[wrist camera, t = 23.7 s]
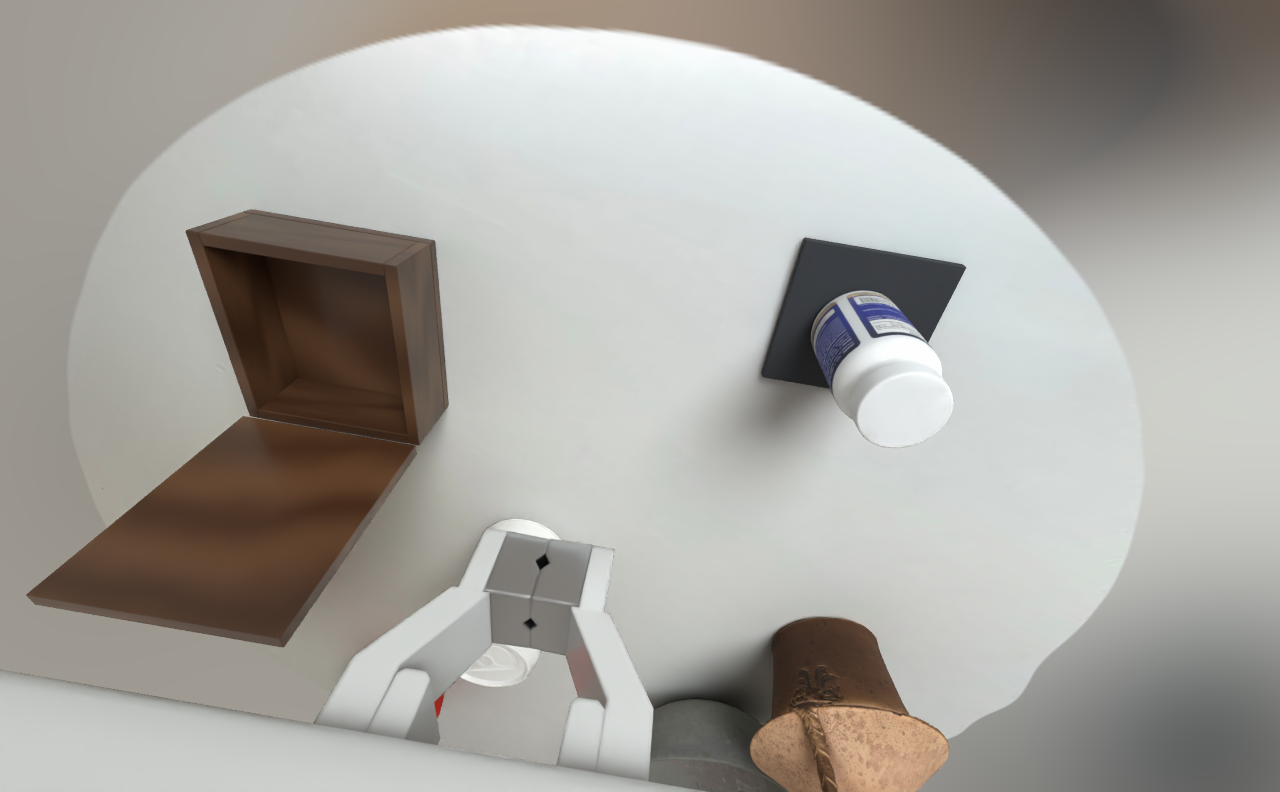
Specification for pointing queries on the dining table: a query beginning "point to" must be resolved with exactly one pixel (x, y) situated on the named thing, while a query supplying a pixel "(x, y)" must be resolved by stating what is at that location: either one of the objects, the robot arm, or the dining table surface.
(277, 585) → the chest lid
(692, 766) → the bowl
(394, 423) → the chest
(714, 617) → the dining table surface
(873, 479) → the dining table surface
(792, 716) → the pitcher
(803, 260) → the mat
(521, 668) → the beverage can
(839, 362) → the pill bottle
